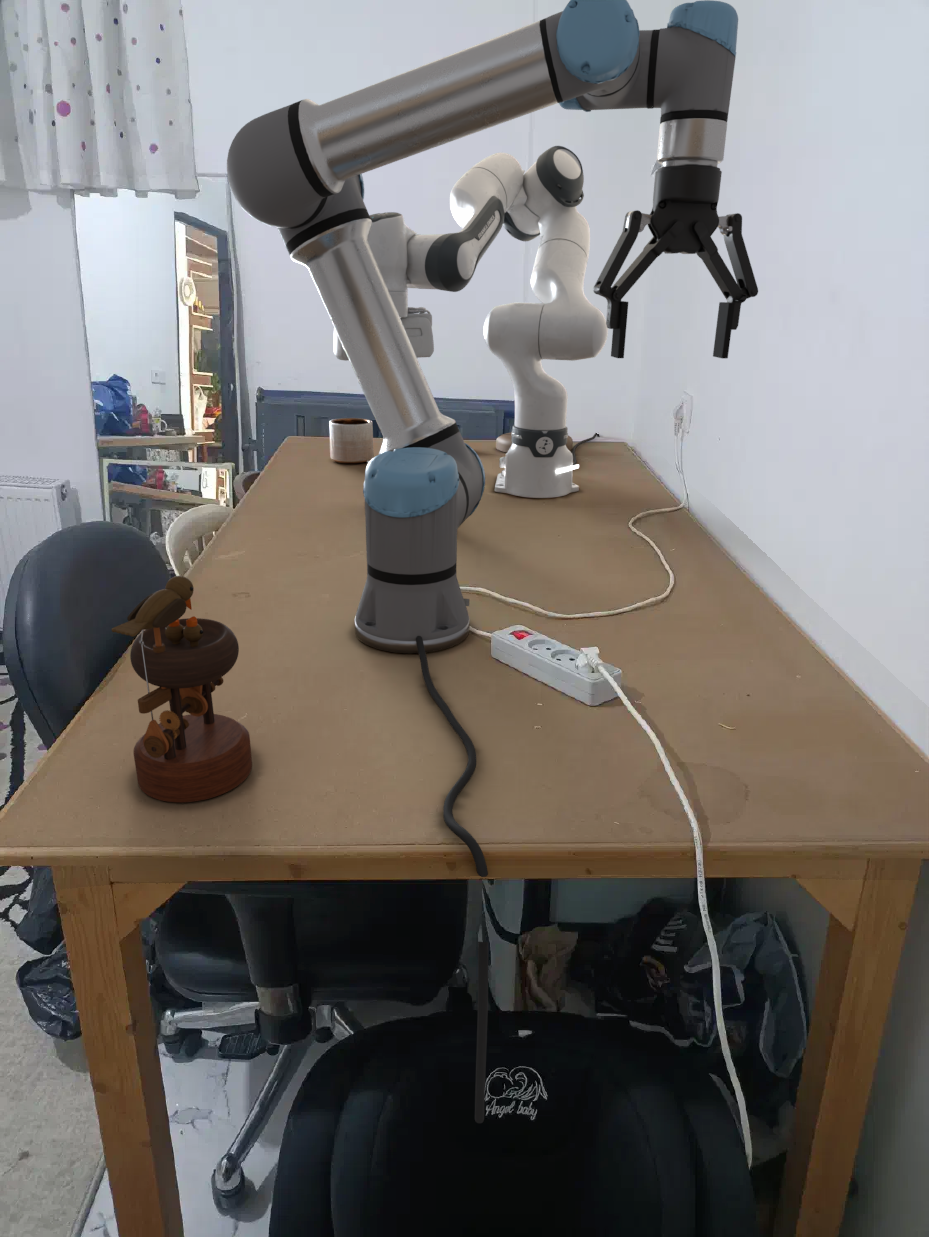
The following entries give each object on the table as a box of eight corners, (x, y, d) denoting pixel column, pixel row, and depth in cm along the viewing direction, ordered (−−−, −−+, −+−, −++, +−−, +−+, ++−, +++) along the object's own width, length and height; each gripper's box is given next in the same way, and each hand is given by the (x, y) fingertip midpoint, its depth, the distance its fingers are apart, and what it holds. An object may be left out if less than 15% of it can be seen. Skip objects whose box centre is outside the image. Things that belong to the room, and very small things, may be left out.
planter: (327, 456, 217) (325, 418, 214) (369, 454, 220) (368, 417, 217) (334, 465, 208) (332, 425, 204) (377, 463, 211) (376, 424, 207)
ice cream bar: (502, 464, 212) (503, 447, 210) (493, 443, 238) (494, 428, 236) (585, 464, 213) (587, 448, 211) (568, 443, 239) (569, 428, 237)
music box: (228, 817, 74) (184, 604, 66) (110, 816, 75) (54, 607, 68) (282, 730, 88) (250, 546, 80) (182, 730, 89) (142, 549, 82)
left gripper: (773, 173, 103) (748, 354, 111) (575, 166, 99) (564, 354, 107) (805, 166, 96) (776, 360, 104) (595, 158, 93) (581, 360, 101)
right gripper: (423, 306, 167) (423, 378, 172) (328, 307, 156) (331, 384, 162) (440, 307, 162) (439, 382, 167) (343, 308, 151) (345, 387, 157)
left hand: (669, 357), depth 106 cm, fingers open, 13 cm apart
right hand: (385, 383), depth 164 cm, fingers open, 8 cm apart
